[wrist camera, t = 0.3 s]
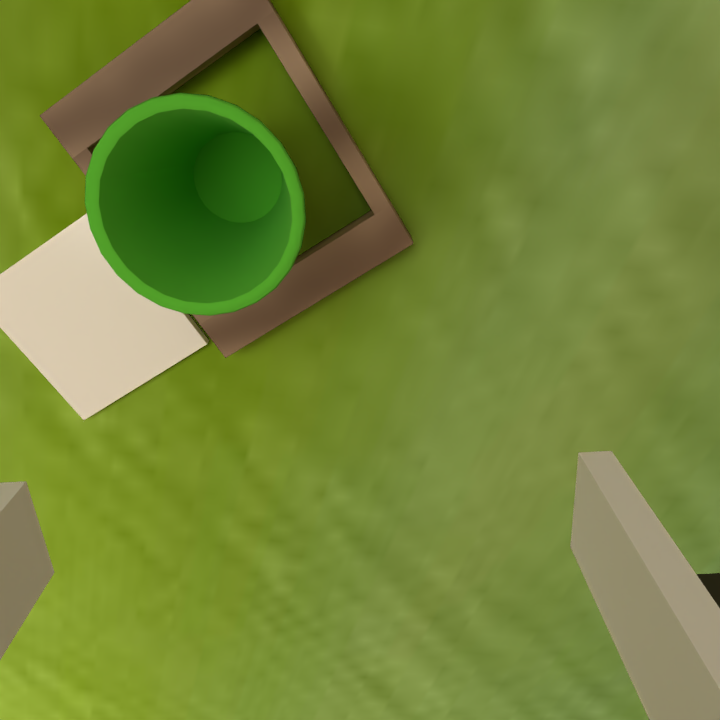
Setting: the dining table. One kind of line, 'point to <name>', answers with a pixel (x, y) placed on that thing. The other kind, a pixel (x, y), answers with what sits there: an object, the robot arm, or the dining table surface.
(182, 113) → the cup
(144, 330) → the coaster
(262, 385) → the dining table surface
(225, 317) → the board
